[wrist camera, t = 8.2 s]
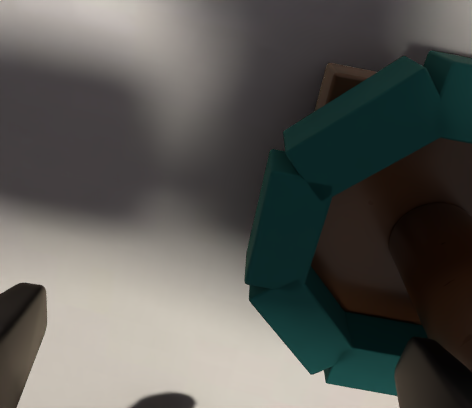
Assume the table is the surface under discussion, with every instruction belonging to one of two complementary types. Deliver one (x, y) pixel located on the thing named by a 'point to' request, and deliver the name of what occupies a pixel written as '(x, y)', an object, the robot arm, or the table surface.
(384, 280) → the peg stand
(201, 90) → the table surface
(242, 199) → the table surface
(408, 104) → the ring
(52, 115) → the table surface
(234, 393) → the table surface
